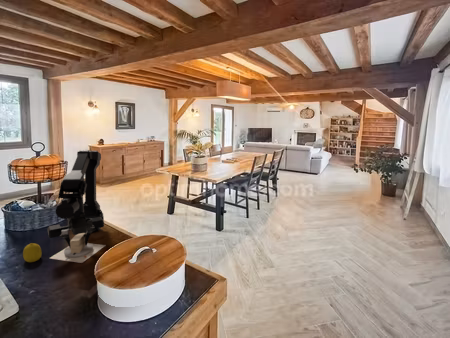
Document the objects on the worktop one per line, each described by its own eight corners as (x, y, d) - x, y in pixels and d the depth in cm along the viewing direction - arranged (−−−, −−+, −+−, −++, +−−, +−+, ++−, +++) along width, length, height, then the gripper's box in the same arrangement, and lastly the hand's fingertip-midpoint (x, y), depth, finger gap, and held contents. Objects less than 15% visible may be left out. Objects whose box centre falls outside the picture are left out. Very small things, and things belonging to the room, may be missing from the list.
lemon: (32, 268, 93) (30, 247, 92) (20, 265, 94) (17, 245, 93) (46, 260, 99) (44, 240, 97) (34, 258, 100) (32, 239, 98)
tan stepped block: (70, 245, 107) (69, 232, 106) (96, 244, 108) (95, 231, 107) (59, 257, 97) (58, 243, 96) (87, 256, 99) (86, 242, 98)
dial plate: (76, 244, 111) (76, 241, 111) (106, 248, 109) (105, 245, 108) (49, 261, 98) (49, 257, 97) (82, 266, 95) (81, 262, 95)
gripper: (48, 221, 88) (52, 263, 90) (106, 210, 99) (108, 248, 102) (45, 211, 96) (49, 250, 99) (99, 203, 108) (101, 238, 110)
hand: (78, 246), depth 102 cm, fingers closed on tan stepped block, 5 cm apart
